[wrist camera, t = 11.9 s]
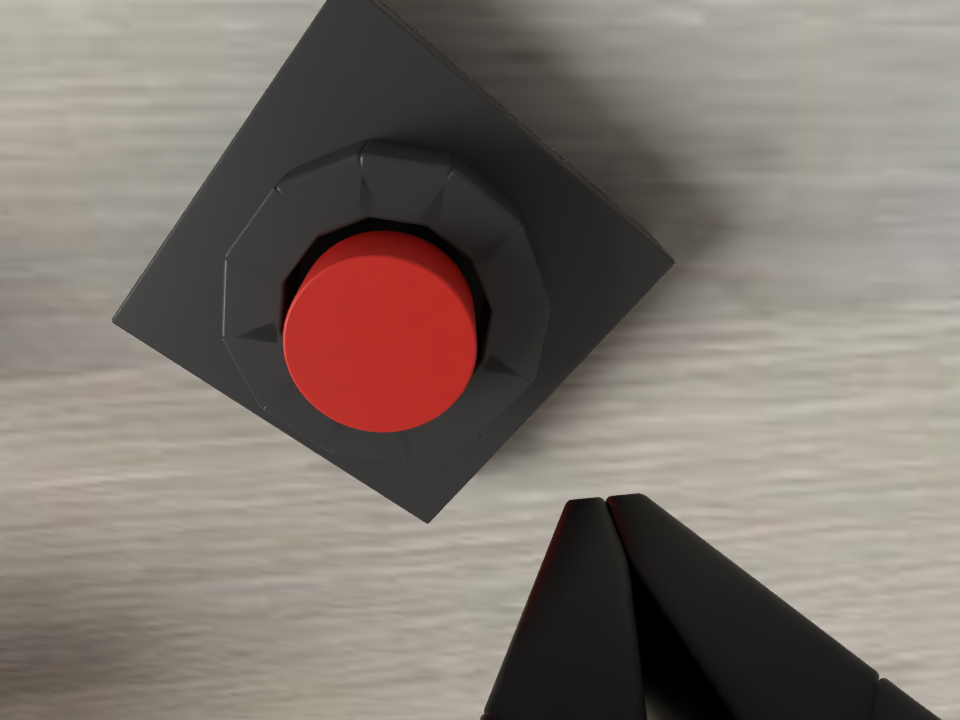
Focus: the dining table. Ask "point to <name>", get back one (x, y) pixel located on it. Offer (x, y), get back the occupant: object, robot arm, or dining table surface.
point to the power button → (382, 332)
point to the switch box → (393, 207)
